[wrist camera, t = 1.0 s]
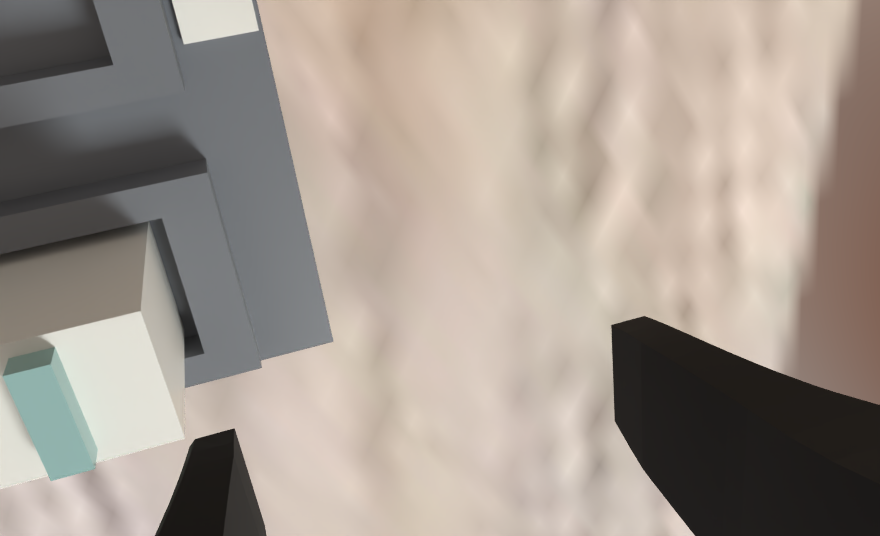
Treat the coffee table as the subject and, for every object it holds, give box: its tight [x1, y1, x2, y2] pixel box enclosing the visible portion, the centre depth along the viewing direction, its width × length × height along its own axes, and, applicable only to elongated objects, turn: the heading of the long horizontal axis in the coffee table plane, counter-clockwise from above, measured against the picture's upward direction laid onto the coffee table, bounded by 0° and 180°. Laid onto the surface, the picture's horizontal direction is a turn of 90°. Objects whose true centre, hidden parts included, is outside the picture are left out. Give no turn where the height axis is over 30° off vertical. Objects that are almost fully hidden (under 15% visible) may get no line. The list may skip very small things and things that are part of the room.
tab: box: [0, 221, 185, 489], centre depth 17 cm, size 3×4×5 cm
